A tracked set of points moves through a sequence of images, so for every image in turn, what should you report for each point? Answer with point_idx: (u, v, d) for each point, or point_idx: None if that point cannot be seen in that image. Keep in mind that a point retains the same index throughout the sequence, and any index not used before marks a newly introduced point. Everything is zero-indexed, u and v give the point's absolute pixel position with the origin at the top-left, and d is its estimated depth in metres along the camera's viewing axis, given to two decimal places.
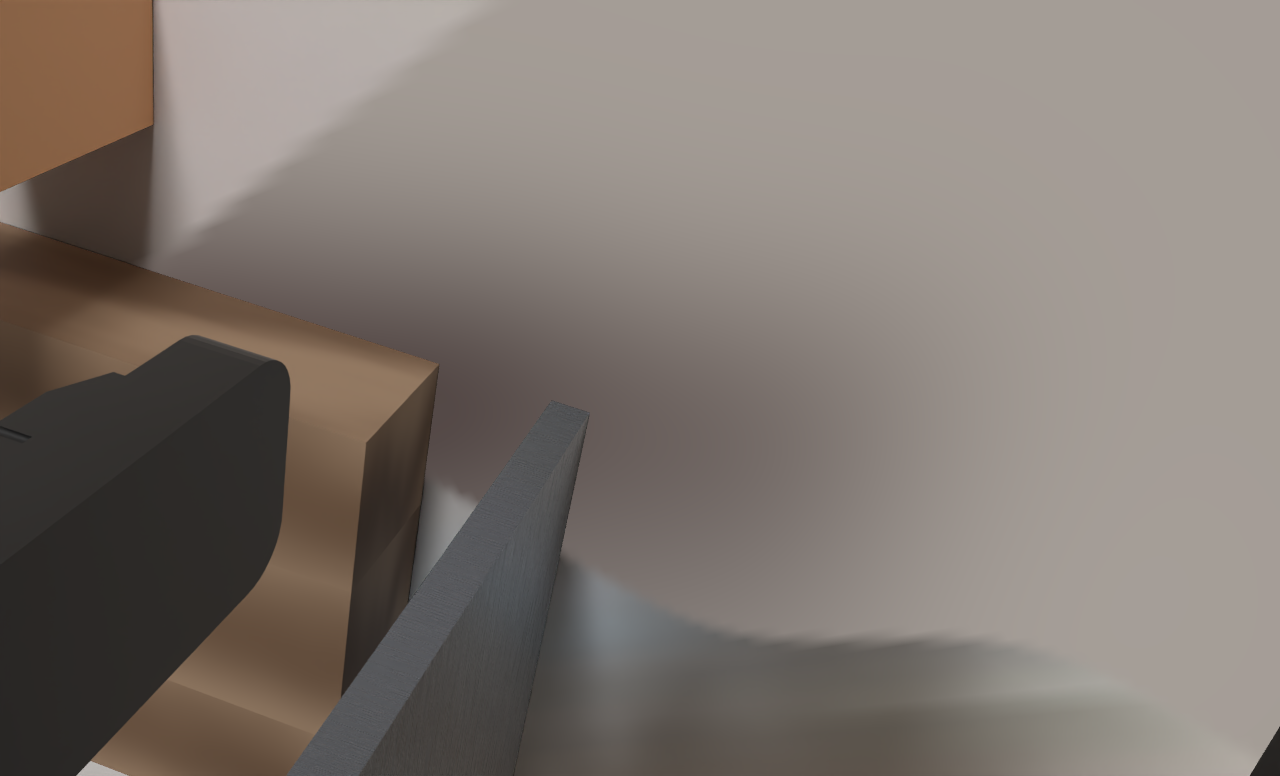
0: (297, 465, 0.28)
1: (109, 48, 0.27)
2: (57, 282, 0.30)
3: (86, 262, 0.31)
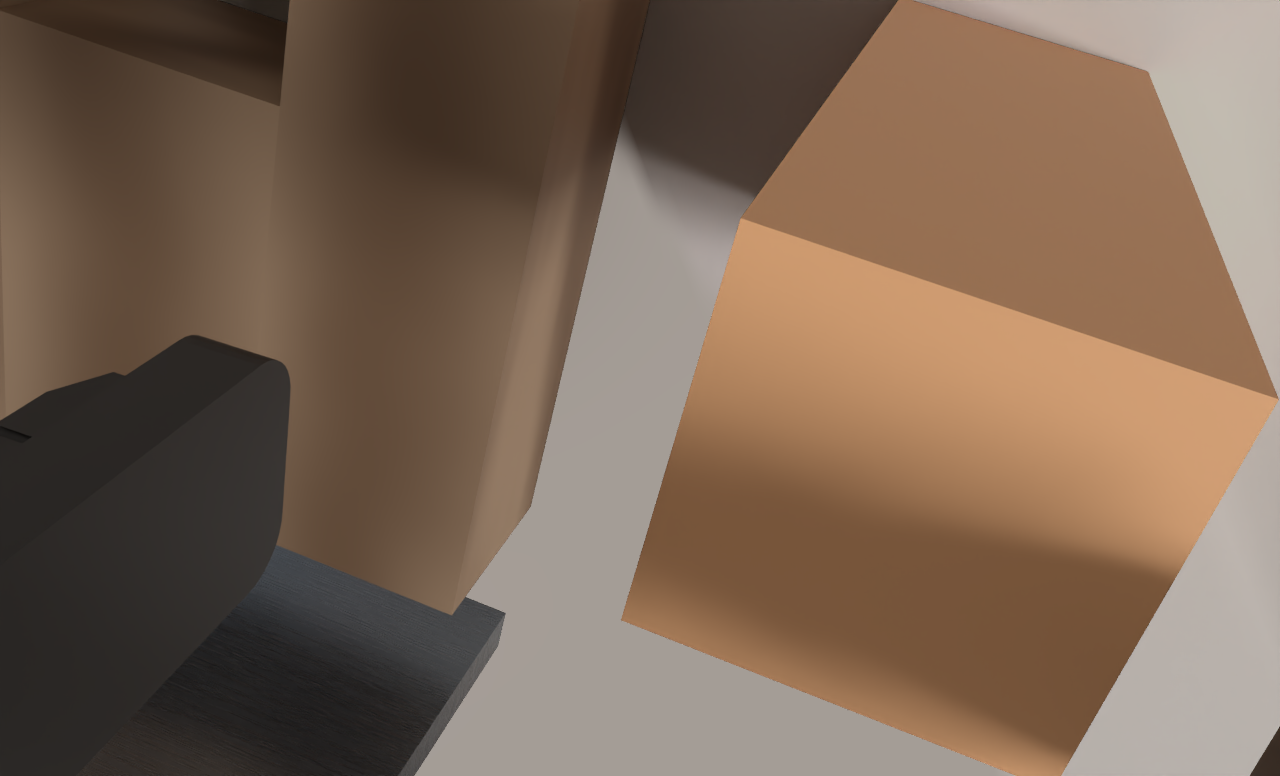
0: (402, 522, 0.22)
1: None
2: (598, 98, 0.20)
3: (623, 76, 0.21)
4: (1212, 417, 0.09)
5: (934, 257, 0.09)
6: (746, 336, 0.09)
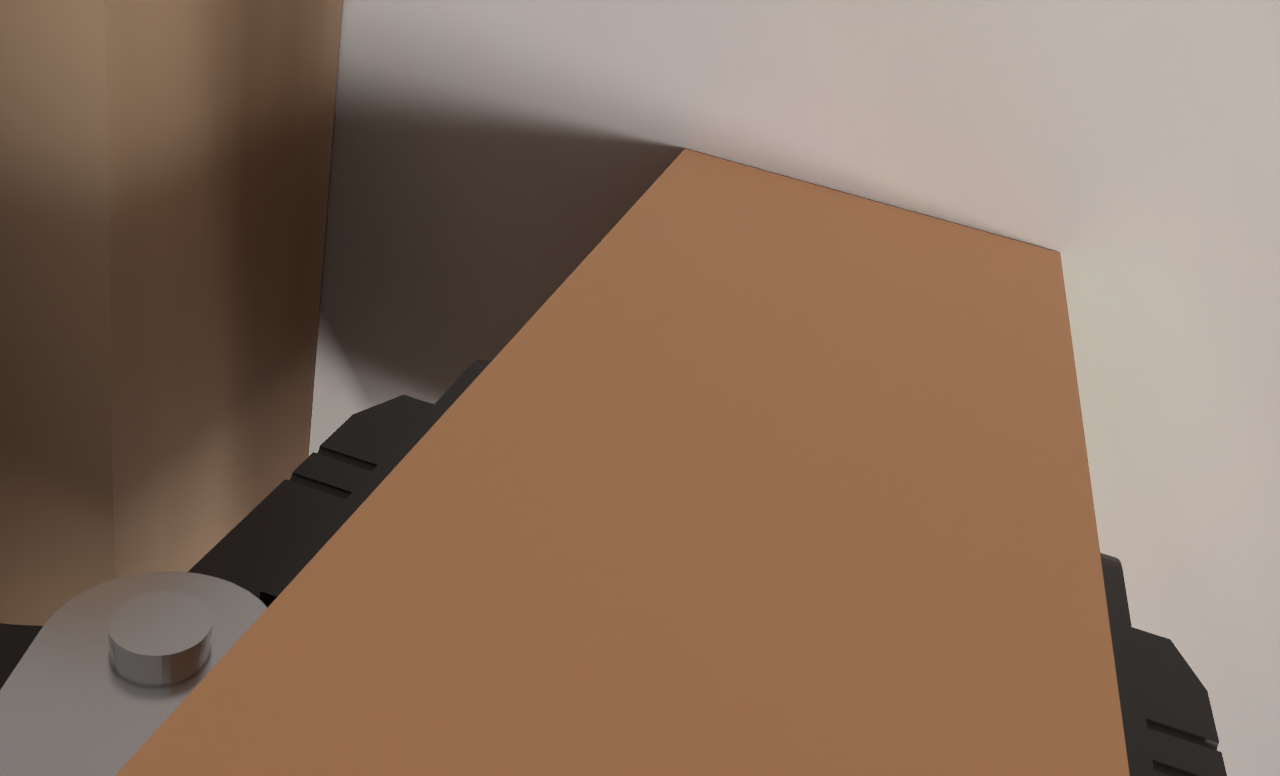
0: None
1: None
2: (240, 319, 0.13)
3: (300, 268, 0.14)
4: None
5: None
6: None
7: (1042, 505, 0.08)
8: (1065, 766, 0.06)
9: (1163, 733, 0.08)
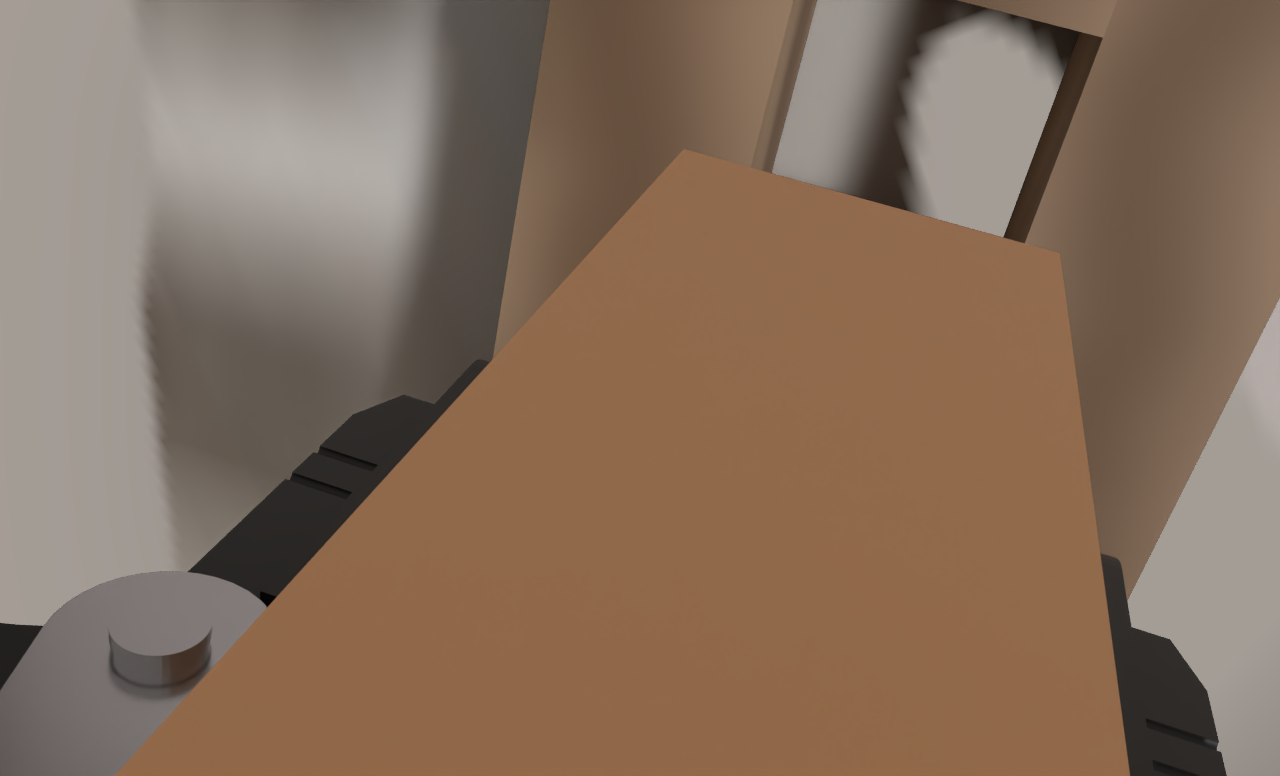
0: None
1: None
2: None
3: None
4: None
5: None
6: None
7: (1042, 508, 0.08)
8: (1066, 772, 0.06)
9: (1163, 733, 0.08)
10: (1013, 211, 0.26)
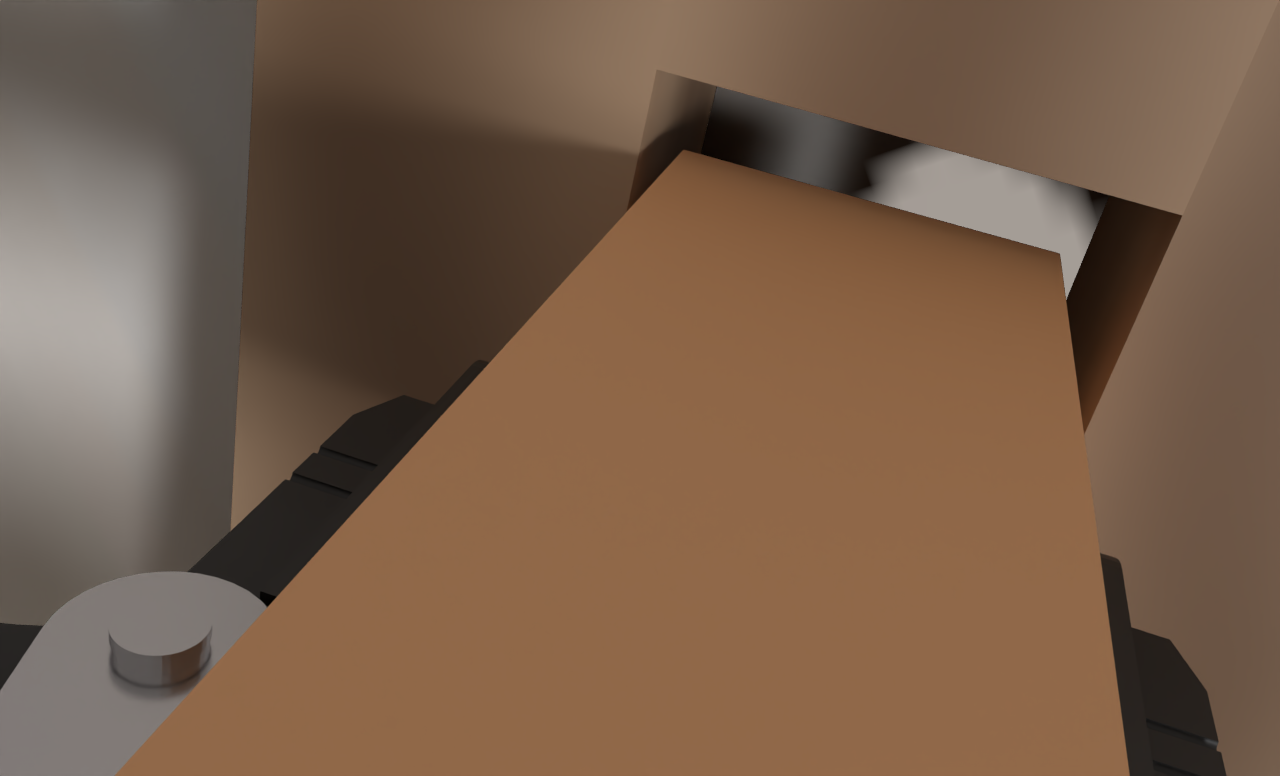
0: None
1: None
2: None
3: None
4: None
5: None
6: None
7: (1042, 508, 0.08)
8: (1066, 773, 0.06)
9: (1163, 733, 0.08)
10: None
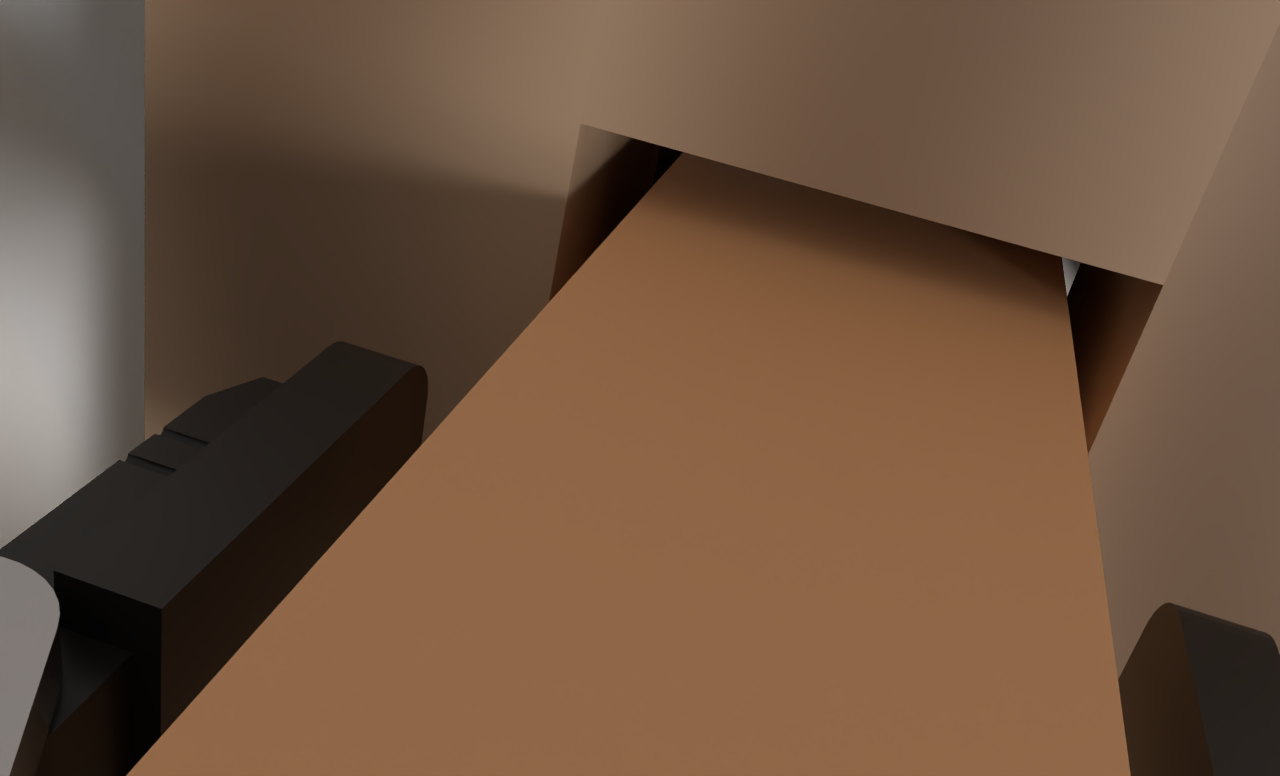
0: None
1: None
2: None
3: None
4: None
5: None
6: None
7: (1035, 375, 0.09)
8: (1050, 540, 0.07)
9: None
10: None
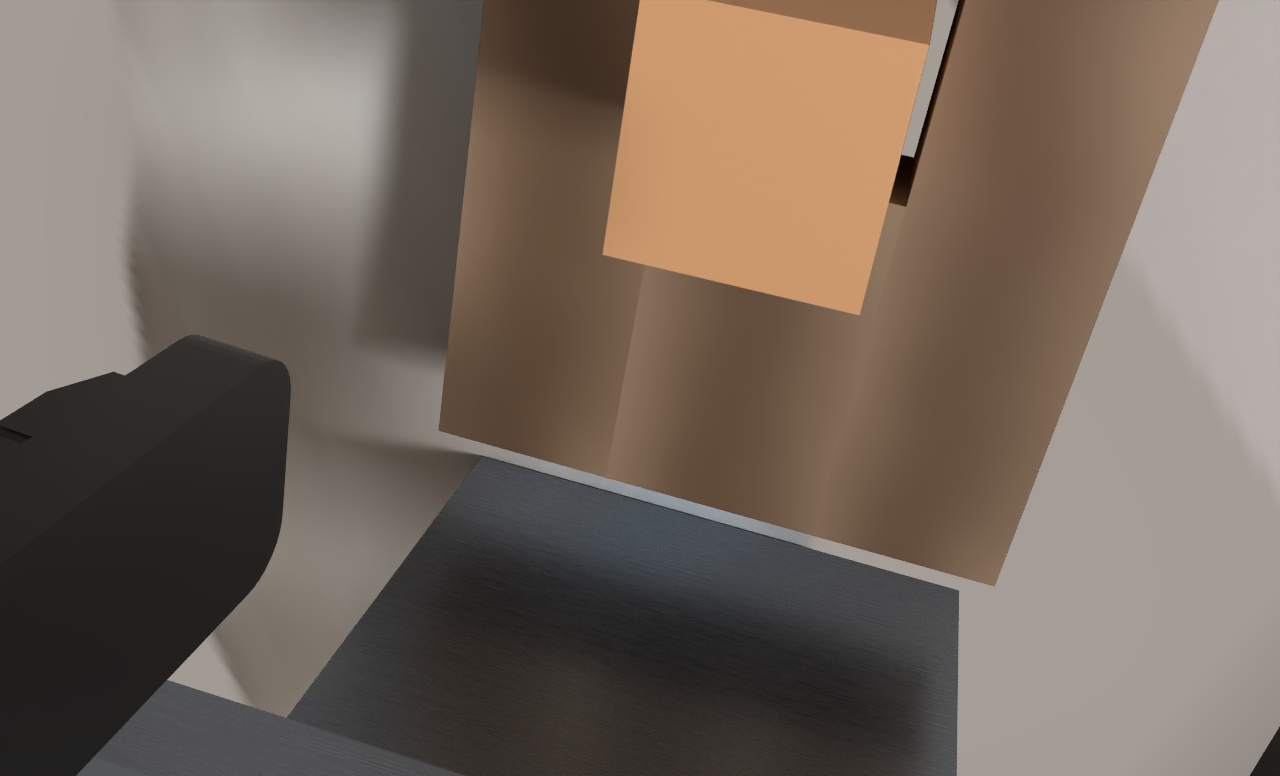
0: (962, 515, 0.28)
1: None
2: None
3: None
4: (900, 61, 0.16)
5: (749, 2, 0.17)
6: (653, 57, 0.17)
7: None
8: None
9: None
10: (923, 124, 0.28)
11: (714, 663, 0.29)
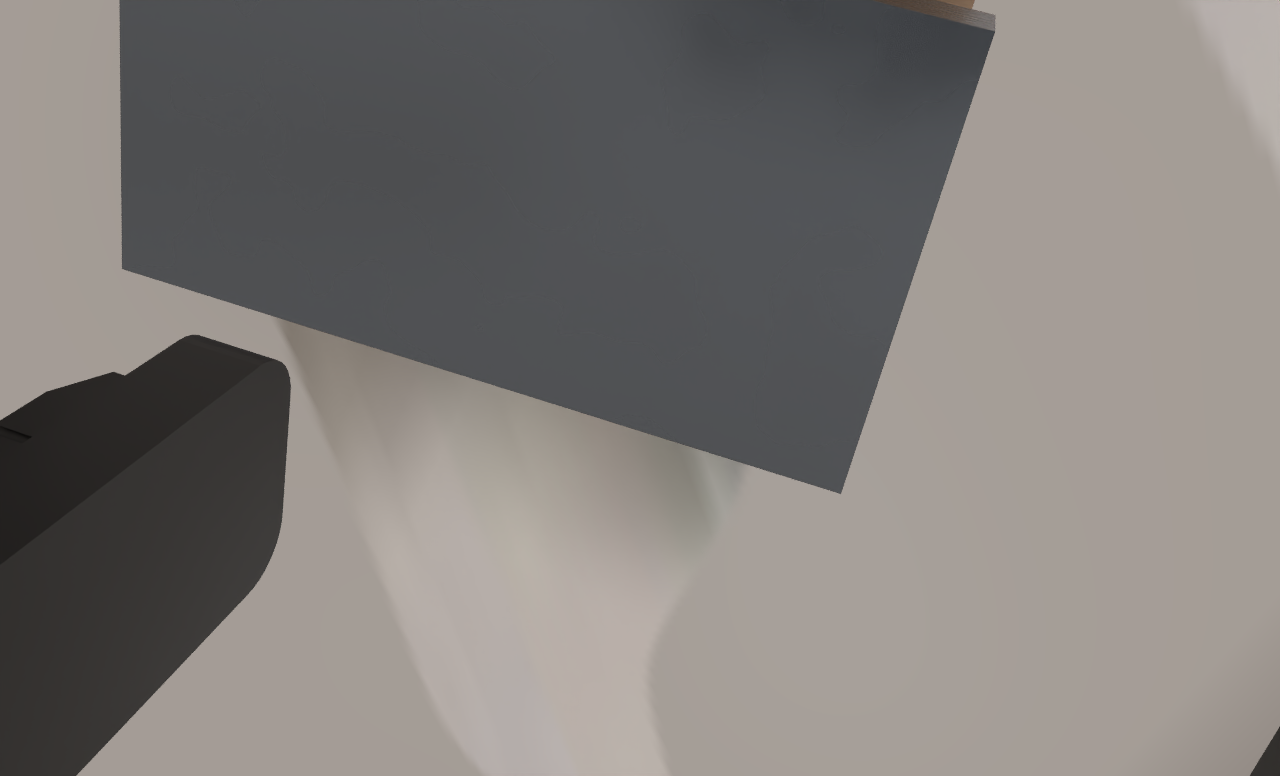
0: None
1: None
2: None
3: None
4: None
5: None
6: None
7: None
8: None
9: None
10: None
11: None
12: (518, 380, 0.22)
